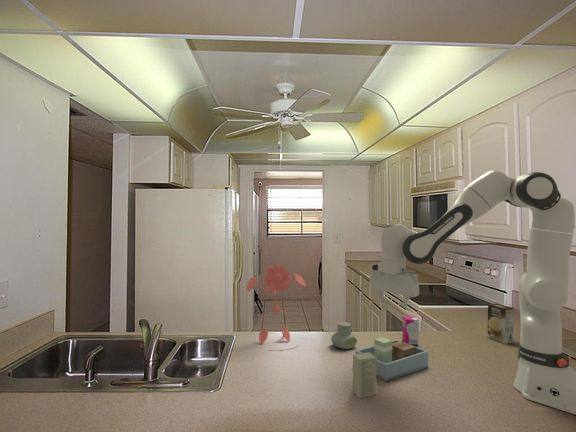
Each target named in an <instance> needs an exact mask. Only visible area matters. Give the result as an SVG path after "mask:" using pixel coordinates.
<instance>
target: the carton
mask: <svg viewBox="0 0 576 432" xmlns="http://www.w3.org/2000/svg"><path fill="white" fill-rule="evenodd" d="M392 341H393V340H391V339H389V338H386V337H383V336H382V337H378V338H374V343H373V346H374V356H375V357H377V360H379V361H381V362H384V363H389V362H392Z"/></svg>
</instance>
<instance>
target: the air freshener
mask: <svg viewBox="0 0 576 432" xmlns="http://www.w3.org/2000/svg"><path fill="white" fill-rule="evenodd" d="M336 326H337V328H336V329H337V331H336V332H335V333H333V334H332V335H331V338H330V341H331V343H332V345H334V346H335V347H336V348H339V349H341V350H350V349H352V348H354V347H355V346H356V345H357V344H358V343H357V342H358V339H357V337H356V335H354V334H353V333H352V324H351V323H350V322H347V321H339V322H337V325H336Z"/></svg>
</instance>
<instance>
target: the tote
mask: <svg viewBox="0 0 576 432" xmlns="http://www.w3.org/2000/svg"><path fill="white" fill-rule="evenodd" d="M391 341H392V343H395V342H399V341H400V340H399V339H394V340H391ZM354 352H355V353H354V354H359V353H366V352H370V353H371V354H373V355H374V345H371V346H367V347H364V348H360V349H357V350H356V349H355V351H354ZM428 367H429V351H428V350H426V349H423V348H421V347H419V346H416V354H414V355H411V356H408V357H405V358H402V359H399V360H396V361H392V362H389V363H384V362H381V361H379V360H376V379H378V380H381V381H383V382H385V383H387V382H390V381H393V380H396V379H398V378H400V377H404V376H406V375H409V374H412V373H414V372H417V371H420V370H423V369H425V368H428Z"/></svg>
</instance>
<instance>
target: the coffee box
mask: <svg viewBox="0 0 576 432" xmlns="http://www.w3.org/2000/svg"><path fill="white" fill-rule="evenodd" d="M514 324H515V308H514V307H511V306H507V305H504V304H501V303H497V302H496V303H488V304H487V324H486V325H487V327H486V328H487V329H486V337H487V339H490V340H493V341H494V342H498V343H501V344H503V345H505V344H512V343H514V329H515V328H514Z"/></svg>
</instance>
